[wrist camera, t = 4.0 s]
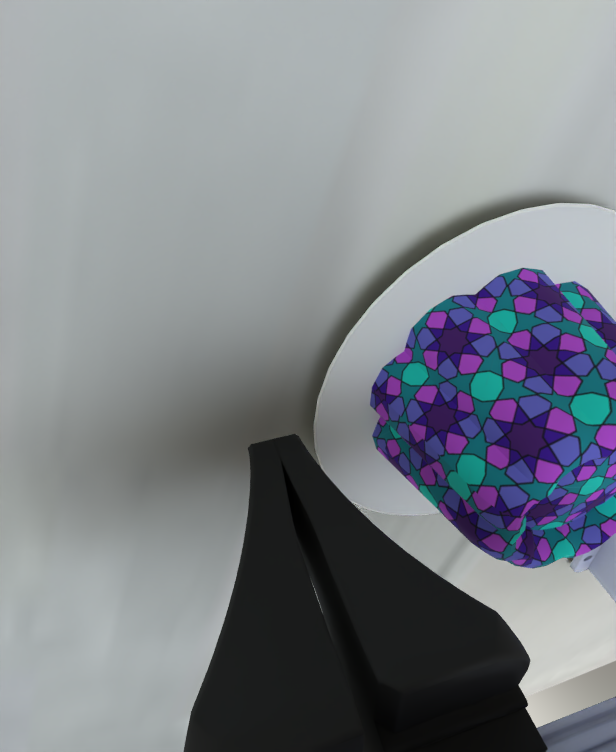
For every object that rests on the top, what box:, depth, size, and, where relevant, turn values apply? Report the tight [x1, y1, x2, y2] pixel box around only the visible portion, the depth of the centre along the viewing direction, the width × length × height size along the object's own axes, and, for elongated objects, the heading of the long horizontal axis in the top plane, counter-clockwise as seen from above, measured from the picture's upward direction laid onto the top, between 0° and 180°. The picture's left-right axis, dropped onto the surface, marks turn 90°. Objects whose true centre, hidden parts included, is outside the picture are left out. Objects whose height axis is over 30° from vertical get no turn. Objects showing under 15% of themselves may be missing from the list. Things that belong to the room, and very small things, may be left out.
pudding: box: [313, 203, 616, 568], centre depth 13 cm, size 12×12×5 cm
